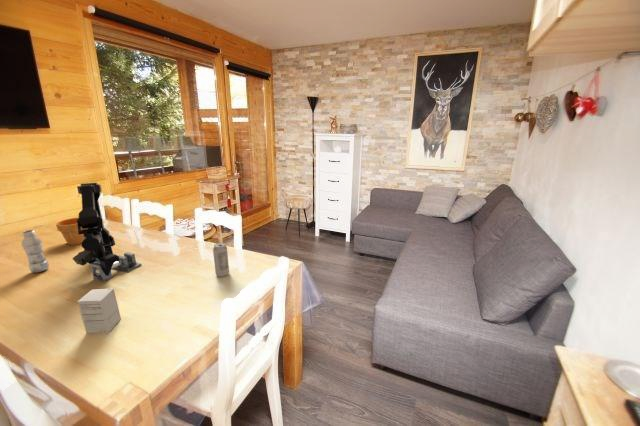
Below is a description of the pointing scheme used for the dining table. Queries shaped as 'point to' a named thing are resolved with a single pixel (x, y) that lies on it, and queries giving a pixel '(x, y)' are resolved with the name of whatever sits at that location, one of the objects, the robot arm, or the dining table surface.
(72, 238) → the flower pot
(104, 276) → the hollow rectangular metal block
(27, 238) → the plastic bottle
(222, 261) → the energy drink can
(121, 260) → the shaft stand
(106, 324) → the supplement box
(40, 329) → the dining table surface
